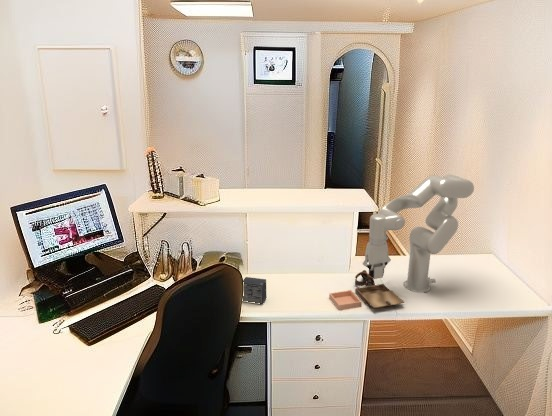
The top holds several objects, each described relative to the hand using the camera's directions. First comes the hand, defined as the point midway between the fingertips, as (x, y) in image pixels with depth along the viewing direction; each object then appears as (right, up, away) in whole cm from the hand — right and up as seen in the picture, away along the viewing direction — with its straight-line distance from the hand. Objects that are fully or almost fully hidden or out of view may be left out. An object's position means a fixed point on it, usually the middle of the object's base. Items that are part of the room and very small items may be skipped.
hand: (376, 275), depth 203 cm
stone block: (0, 0, 0) cm, 1 cm away
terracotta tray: (-16, -13, -3) cm, 20 cm away
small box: (-58, -12, 0) cm, 59 cm away
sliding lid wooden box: (+1, -12, -2) cm, 12 cm away
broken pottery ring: (-3, -7, +14) cm, 16 cm away
